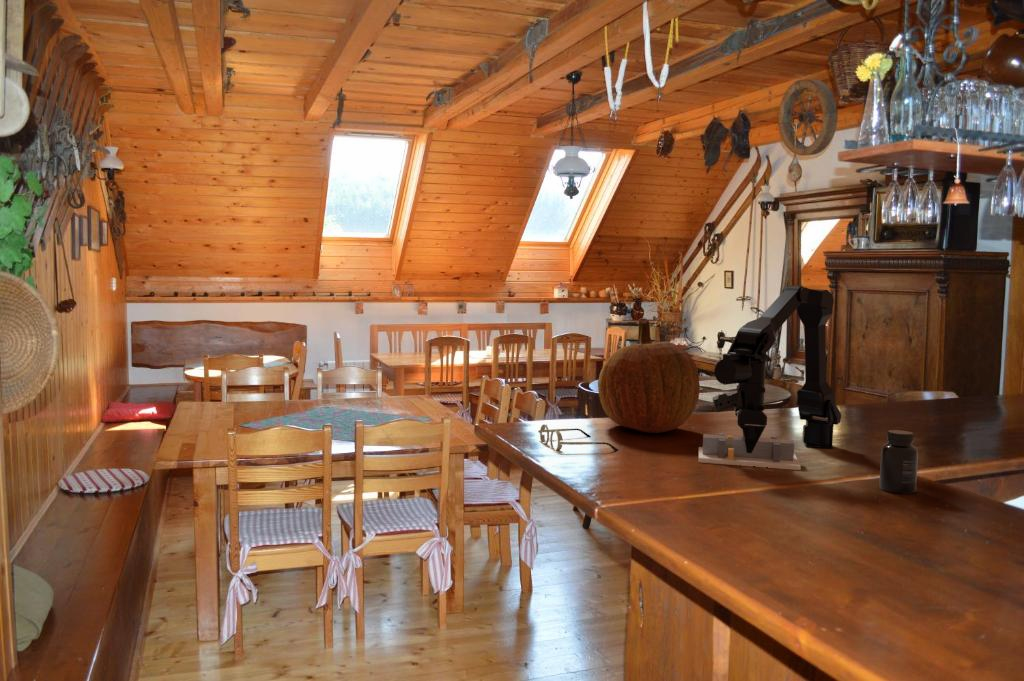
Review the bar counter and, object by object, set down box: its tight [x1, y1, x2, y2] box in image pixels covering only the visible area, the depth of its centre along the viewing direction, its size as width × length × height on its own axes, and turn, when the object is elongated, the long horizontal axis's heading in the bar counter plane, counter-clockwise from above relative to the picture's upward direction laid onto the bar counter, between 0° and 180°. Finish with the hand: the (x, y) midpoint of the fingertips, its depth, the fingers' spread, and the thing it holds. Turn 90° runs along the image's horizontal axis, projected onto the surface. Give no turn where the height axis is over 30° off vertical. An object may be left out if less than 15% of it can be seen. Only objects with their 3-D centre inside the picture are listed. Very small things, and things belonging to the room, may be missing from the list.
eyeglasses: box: [537, 424, 619, 451], centre depth 203 cm, size 17×15×5 cm
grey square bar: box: [702, 433, 795, 461], centre depth 192 cm, size 20×4×4 cm, turn 77°
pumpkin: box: [597, 317, 701, 434], centre depth 222 cm, size 27×27×30 cm
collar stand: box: [698, 432, 802, 471], centre depth 192 cm, size 22×12×5 cm, turn 77°
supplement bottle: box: [878, 429, 919, 495], centre depth 169 cm, size 7×7×12 cm
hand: (748, 448), depth 192 cm, fingers open, 9 cm apart
